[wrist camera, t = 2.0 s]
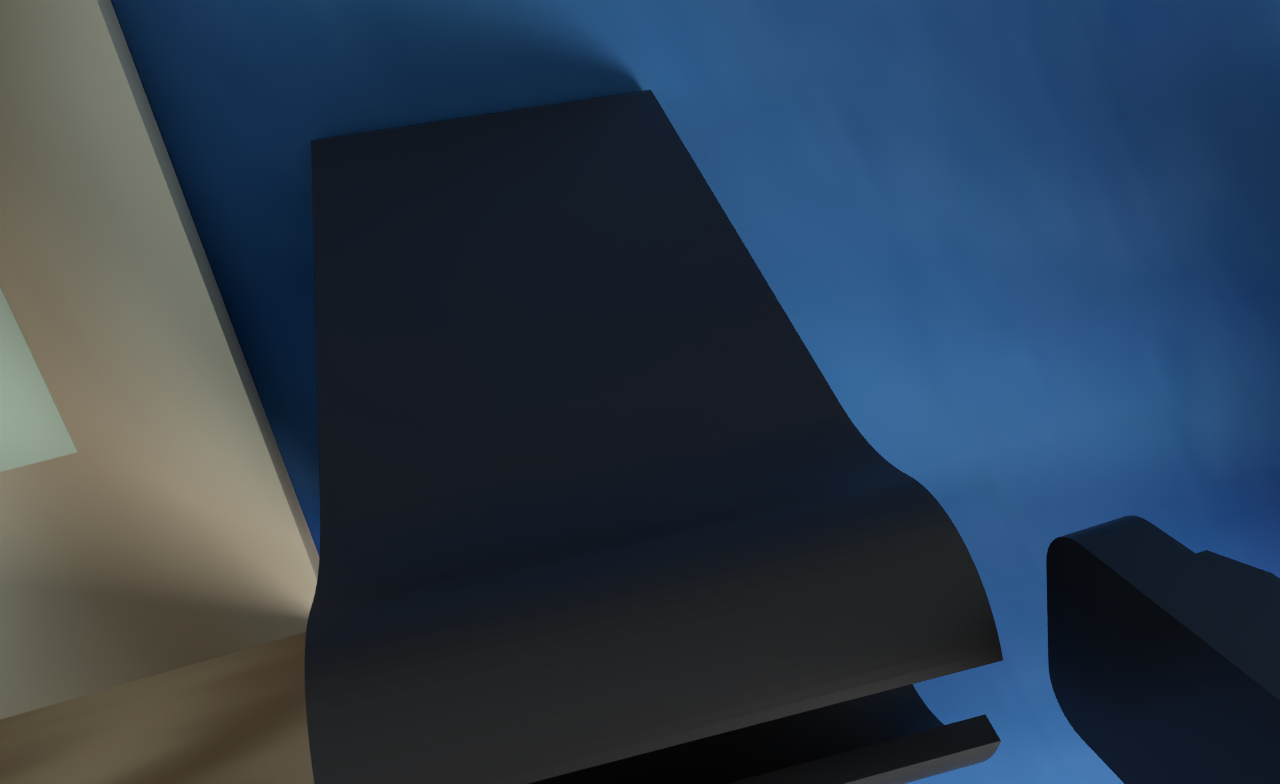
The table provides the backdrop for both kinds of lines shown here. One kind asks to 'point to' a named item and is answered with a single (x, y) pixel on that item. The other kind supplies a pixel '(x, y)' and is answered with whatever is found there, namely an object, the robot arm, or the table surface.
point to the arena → (130, 451)
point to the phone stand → (600, 485)
